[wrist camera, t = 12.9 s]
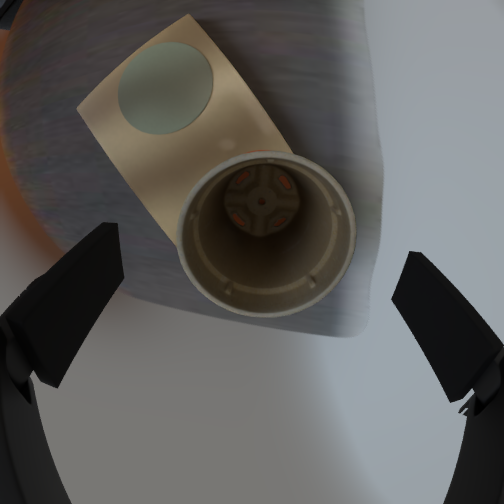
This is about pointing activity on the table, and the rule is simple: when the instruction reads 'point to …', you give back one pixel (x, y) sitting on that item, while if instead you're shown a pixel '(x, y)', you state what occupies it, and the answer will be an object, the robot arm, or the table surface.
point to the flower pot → (266, 234)
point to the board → (176, 118)
